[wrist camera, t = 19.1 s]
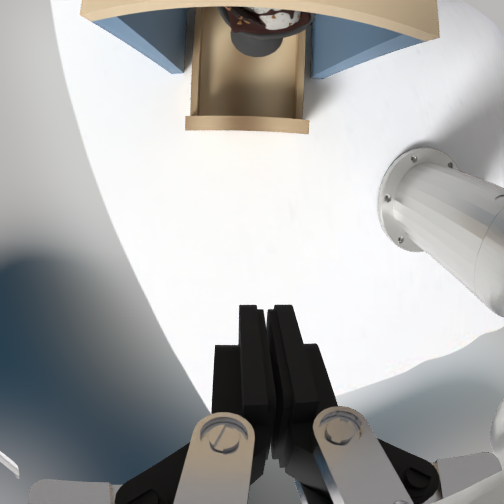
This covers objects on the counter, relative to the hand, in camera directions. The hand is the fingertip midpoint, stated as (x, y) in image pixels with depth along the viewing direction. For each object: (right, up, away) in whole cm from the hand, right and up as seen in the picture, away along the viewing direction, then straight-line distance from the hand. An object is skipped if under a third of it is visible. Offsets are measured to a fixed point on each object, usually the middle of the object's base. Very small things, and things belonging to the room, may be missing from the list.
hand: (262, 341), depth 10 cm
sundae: (0, +23, +14) cm, 27 cm away
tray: (-1, +21, +16) cm, 27 cm away
